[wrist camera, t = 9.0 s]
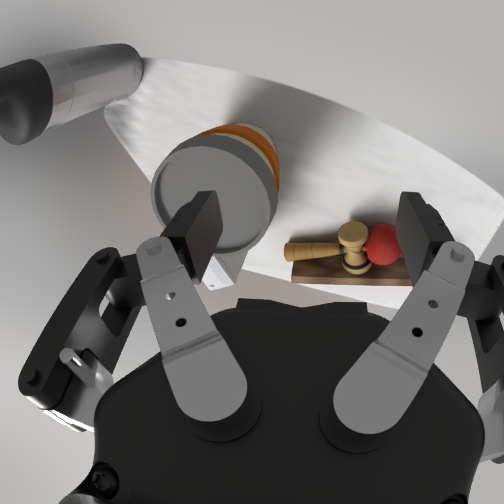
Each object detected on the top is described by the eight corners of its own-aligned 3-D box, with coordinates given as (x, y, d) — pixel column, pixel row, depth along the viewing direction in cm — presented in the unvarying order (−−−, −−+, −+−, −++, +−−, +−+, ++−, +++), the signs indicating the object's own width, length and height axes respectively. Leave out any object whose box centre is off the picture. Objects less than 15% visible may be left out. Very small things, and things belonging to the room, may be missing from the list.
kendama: (298, 263, 50) (402, 257, 41) (287, 283, 45) (404, 279, 36) (288, 221, 47) (399, 211, 38) (275, 239, 42) (402, 228, 33)
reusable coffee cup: (275, 204, 42) (255, 273, 31) (195, 180, 42) (148, 238, 31) (301, 125, 34) (291, 166, 22) (208, 101, 34) (151, 130, 23)
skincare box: (257, 232, 46) (238, 286, 37) (233, 240, 48) (210, 293, 39) (237, 200, 43) (212, 249, 34) (213, 210, 45) (184, 259, 36)
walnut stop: (294, 262, 48) (291, 282, 44) (294, 255, 47) (291, 276, 43) (430, 265, 42) (437, 286, 38) (432, 259, 41) (440, 279, 38)
